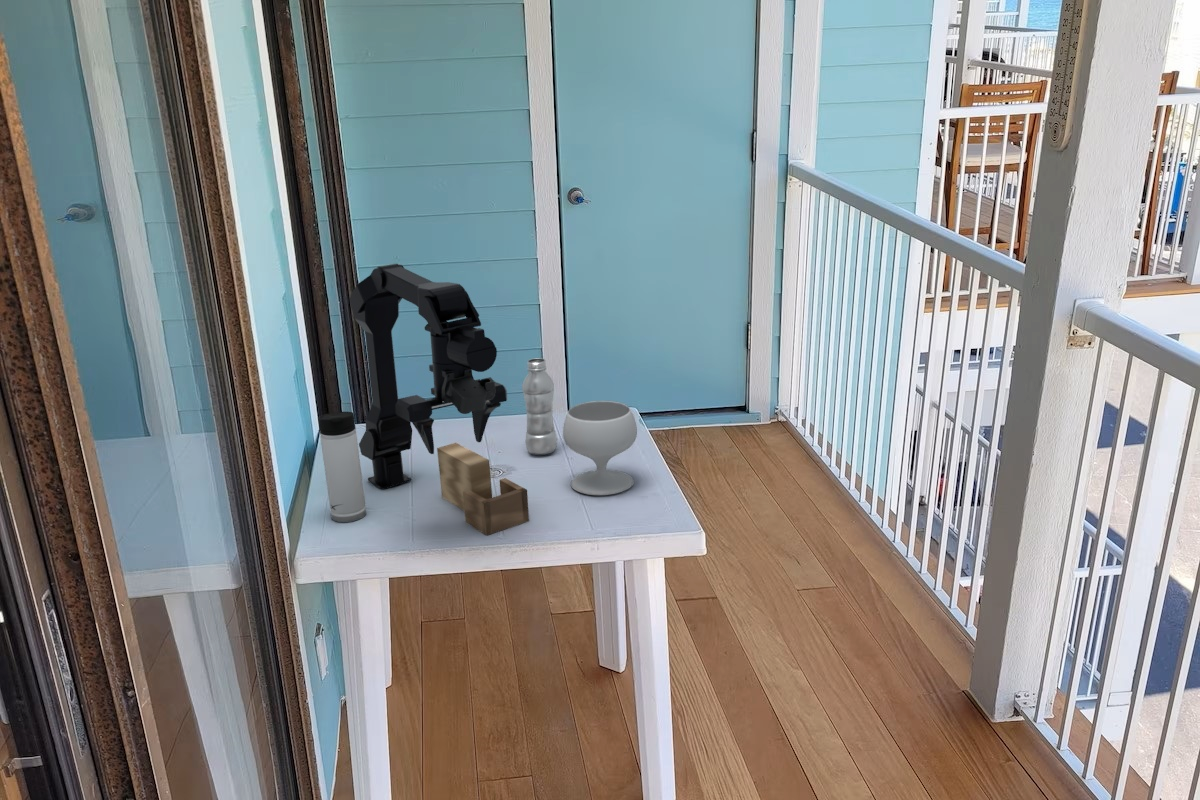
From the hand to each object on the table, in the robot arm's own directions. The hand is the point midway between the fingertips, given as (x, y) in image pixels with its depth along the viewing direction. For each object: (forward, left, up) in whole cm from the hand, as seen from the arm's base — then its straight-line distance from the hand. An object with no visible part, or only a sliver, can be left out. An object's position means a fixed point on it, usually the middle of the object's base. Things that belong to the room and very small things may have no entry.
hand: (455, 447), depth 172 cm
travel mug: (-18, -14, -15) cm, 27 cm away
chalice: (+2, +29, -15) cm, 33 cm away
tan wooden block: (-8, +5, -15) cm, 17 cm away
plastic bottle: (-20, +30, -15) cm, 39 cm away
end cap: (+3, +5, -15) cm, 16 cm away
